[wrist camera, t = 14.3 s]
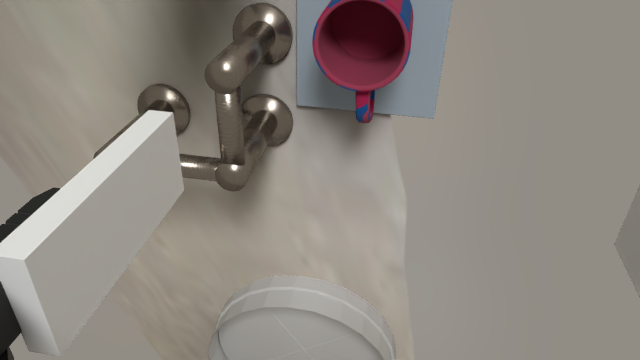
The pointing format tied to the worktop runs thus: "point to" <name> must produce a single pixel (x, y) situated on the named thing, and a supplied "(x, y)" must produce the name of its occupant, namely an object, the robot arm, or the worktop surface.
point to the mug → (363, 46)
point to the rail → (233, 100)
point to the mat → (403, 92)
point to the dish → (300, 323)
